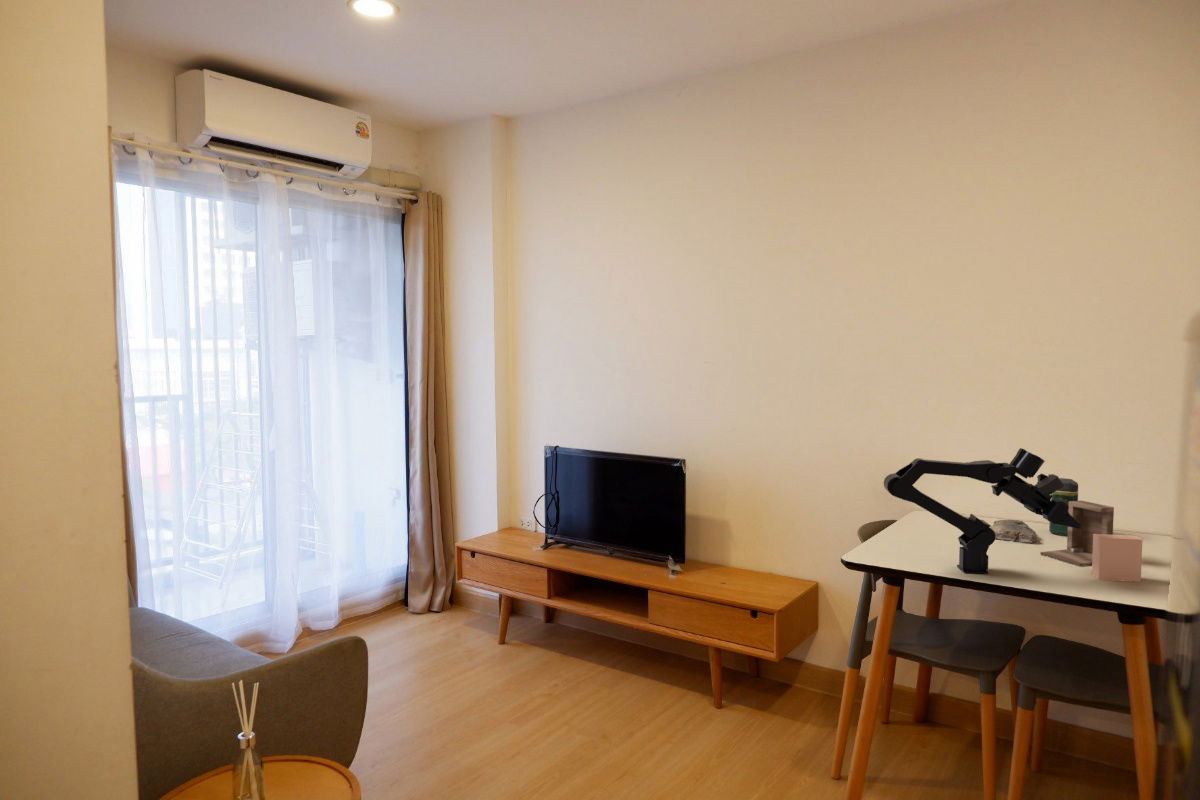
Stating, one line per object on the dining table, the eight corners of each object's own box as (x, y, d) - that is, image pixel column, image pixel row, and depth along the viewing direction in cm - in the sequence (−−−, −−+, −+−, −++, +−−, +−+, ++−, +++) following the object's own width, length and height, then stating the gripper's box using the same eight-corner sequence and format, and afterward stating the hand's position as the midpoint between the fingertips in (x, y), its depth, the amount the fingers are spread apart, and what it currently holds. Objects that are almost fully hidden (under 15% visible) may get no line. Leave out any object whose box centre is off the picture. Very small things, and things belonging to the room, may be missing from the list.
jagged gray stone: (991, 528, 263) (986, 539, 246) (992, 514, 263) (987, 524, 246) (1038, 534, 256) (1035, 545, 239) (1038, 519, 255) (1036, 530, 238)
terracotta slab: (1098, 579, 202) (1100, 537, 201) (1091, 574, 206) (1093, 533, 206) (1140, 582, 200) (1142, 539, 199) (1132, 577, 204) (1134, 535, 204)
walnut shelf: (1079, 566, 214) (1081, 511, 213) (1040, 554, 227) (1042, 502, 226) (1115, 562, 219) (1118, 508, 218) (1075, 550, 231) (1077, 499, 230)
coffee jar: (1075, 537, 247) (1077, 482, 246) (1048, 534, 252) (1049, 479, 251) (1077, 532, 255) (1079, 478, 254) (1050, 528, 260) (1052, 475, 259)
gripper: (1053, 472, 197) (1107, 506, 195) (1027, 462, 215) (1076, 493, 213) (1027, 507, 199) (1080, 540, 197) (1003, 494, 217) (1052, 524, 215)
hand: (1072, 523), depth 205 cm, fingers open, 9 cm apart
